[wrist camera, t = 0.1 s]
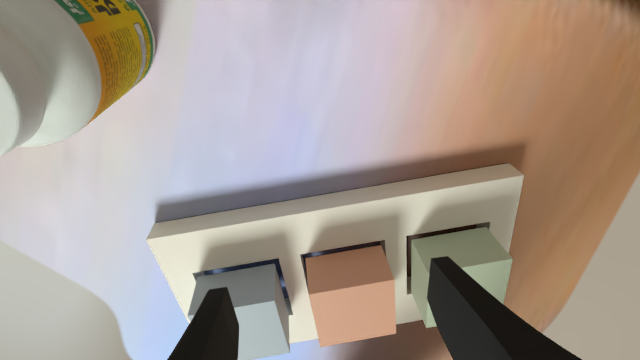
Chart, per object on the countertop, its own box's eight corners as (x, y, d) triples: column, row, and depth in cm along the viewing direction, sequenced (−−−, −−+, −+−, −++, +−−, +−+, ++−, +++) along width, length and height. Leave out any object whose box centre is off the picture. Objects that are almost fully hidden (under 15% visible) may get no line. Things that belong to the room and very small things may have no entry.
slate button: (288, 313, 25) (289, 352, 22) (219, 326, 25) (212, 366, 22) (274, 263, 22) (274, 300, 20) (197, 276, 22) (187, 315, 20)
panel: (487, 290, 29) (498, 306, 27) (210, 339, 28) (206, 358, 27) (509, 163, 22) (524, 175, 21) (154, 223, 22) (146, 239, 21)
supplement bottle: (35, 71, 17) (-195, 162, 9) (29, -53, 14) (-298, -92, 6) (153, 103, 18) (50, 207, 10) (165, -7, 16) (43, 12, 8)
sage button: (478, 280, 25) (501, 314, 23) (411, 292, 25) (426, 328, 23) (486, 226, 23) (512, 258, 20) (411, 239, 23) (428, 273, 20)
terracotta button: (384, 297, 25) (396, 333, 23) (315, 309, 25) (320, 347, 22) (381, 245, 23) (394, 279, 20) (305, 258, 22) (308, 294, 20)
